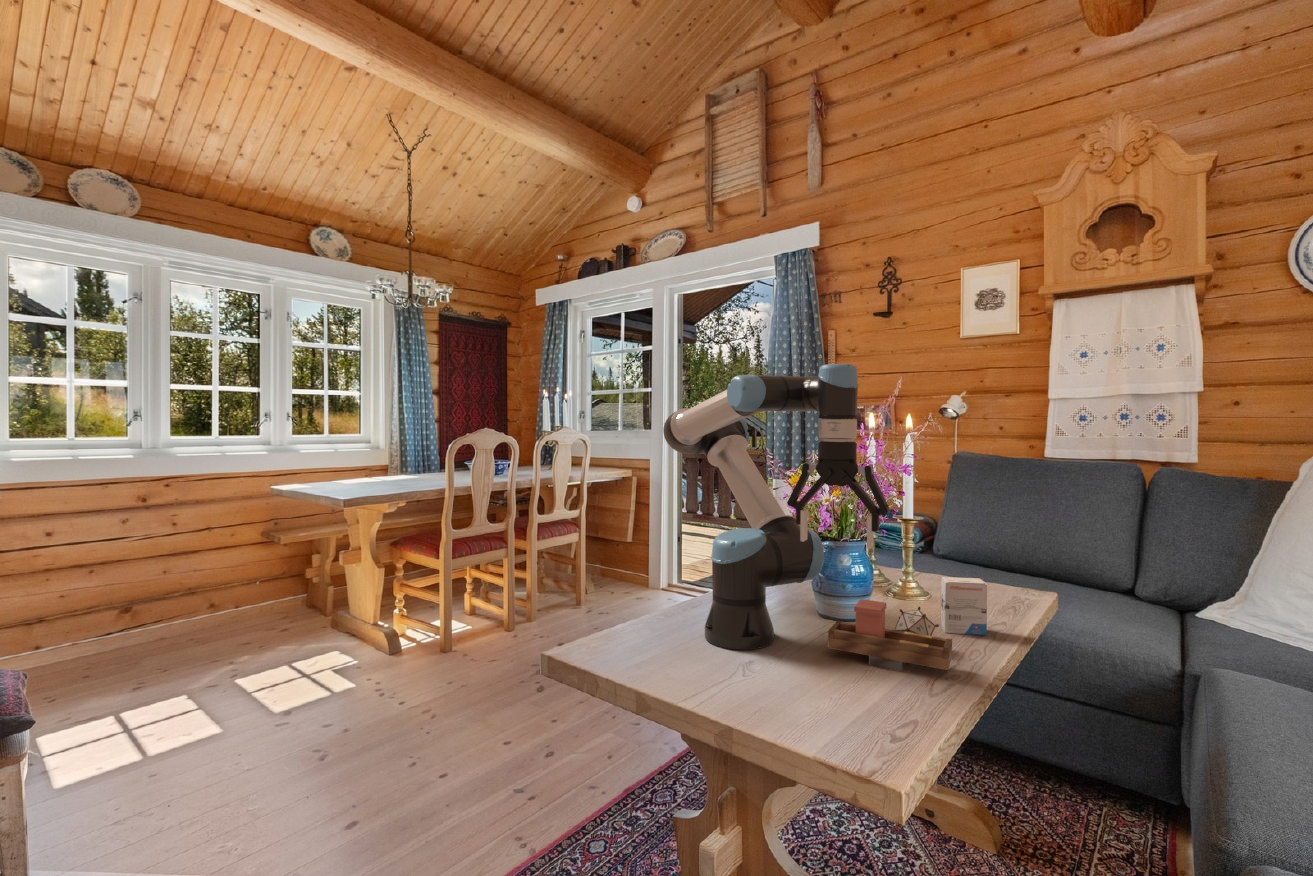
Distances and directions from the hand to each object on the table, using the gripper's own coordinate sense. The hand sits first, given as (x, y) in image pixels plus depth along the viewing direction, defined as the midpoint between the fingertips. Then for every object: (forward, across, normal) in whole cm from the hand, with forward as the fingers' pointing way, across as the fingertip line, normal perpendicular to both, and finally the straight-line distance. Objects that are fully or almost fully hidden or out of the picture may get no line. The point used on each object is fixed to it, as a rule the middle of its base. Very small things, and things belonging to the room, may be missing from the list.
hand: (836, 543), depth 125 cm
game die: (+23, +14, +10) cm, 29 cm away
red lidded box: (+18, +7, -1) cm, 19 cm away
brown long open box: (+22, +11, -1) cm, 25 cm away
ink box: (+23, +22, +26) cm, 41 cm away
